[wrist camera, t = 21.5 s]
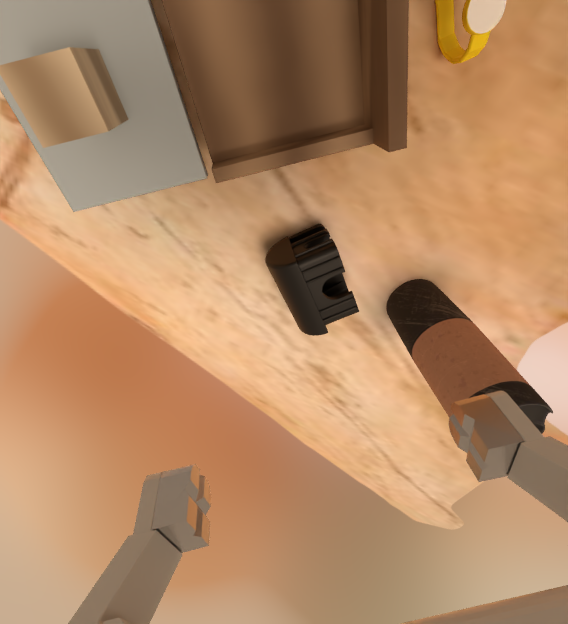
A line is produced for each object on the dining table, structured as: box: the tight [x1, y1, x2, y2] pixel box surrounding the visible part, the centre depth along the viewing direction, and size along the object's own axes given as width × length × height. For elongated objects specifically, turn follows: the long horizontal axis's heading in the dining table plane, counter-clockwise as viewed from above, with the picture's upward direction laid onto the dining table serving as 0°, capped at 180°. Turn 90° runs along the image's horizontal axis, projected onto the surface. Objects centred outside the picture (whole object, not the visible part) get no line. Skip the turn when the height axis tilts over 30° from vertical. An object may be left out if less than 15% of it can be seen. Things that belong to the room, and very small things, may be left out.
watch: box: [435, 0, 506, 64], centre depth 26 cm, size 6×3×6 cm, turn 20°
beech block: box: [0, 47, 129, 148], centre depth 21 cm, size 4×4×5 cm
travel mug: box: [387, 279, 553, 434], centre depth 38 cm, size 8×8×20 cm
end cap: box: [265, 224, 359, 335], centre depth 38 cm, size 10×7×7 cm
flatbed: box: [162, 0, 409, 183], centre depth 23 cm, size 13×16×12 cm
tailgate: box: [0, 0, 208, 212], centre depth 24 cm, size 2×14×11 cm
